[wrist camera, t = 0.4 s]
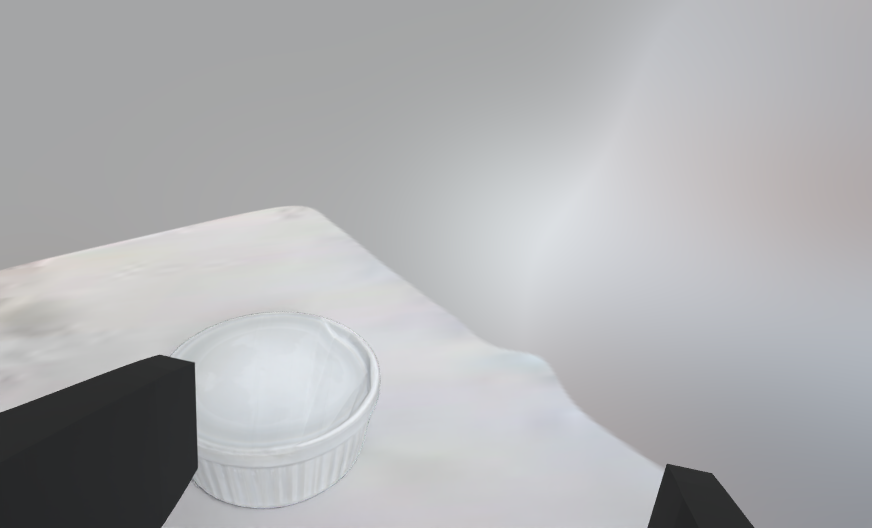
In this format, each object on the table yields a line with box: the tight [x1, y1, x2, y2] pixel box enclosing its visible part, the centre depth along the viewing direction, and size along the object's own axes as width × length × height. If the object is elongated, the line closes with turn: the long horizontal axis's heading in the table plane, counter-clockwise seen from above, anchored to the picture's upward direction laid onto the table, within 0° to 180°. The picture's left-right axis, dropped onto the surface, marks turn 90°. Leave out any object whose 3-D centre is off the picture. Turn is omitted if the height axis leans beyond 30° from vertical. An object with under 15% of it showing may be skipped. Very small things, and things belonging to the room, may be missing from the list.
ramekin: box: [170, 312, 380, 508], centre depth 35 cm, size 11×11×5 cm
